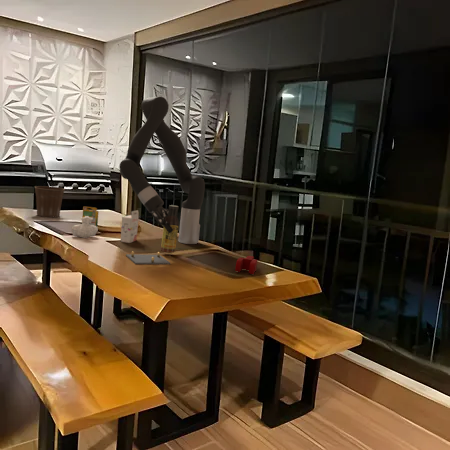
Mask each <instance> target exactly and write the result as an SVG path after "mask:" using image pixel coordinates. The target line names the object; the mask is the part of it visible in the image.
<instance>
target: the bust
mask: <svg viewBox="0 0 450 450" xmlns="http://www.w3.org/2000/svg"><path fill="white" fill-rule="evenodd" d="M79 220H81V224H76V225H75V224H74V225H73V226H72V227H71V233H72V236H74V237H80V238H83V239H84V238H85V239H89V238H91V237H95V236H96V234H97V232H98V230H99V227H98V226H97V227H96V226H94V225H90V224H89V223H91V220H93V218H90V217H89V216H85V217H83V218H82V216H80V217H79ZM82 220H83V222H82ZM82 223H83V224H82Z"/></svg>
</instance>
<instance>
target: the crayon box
mask: <svg viewBox="0 0 450 450" xmlns="http://www.w3.org/2000/svg"><path fill="white" fill-rule="evenodd" d="M85 216H89V217H90V218H93V220H91V223H89V224H90V225H94V226H96V227H97V228H98V222H99V211H98V208H97V207H93V206H83V207H82V216H81V217H82V218H83V217H85ZM82 222H83V220H81V225H82V224H83V223H82Z"/></svg>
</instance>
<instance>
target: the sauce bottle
mask: <svg viewBox="0 0 450 450" xmlns="http://www.w3.org/2000/svg"><path fill="white" fill-rule="evenodd" d="M168 210H169V214H168V217H167V219H166V220H167V222H168V223H169V225H170V226H171V227H172V229H173V231H172V232H171V233H168V231H167V230H166V229H165V227H164V226H163V231H162V236H161V238H162V239H161V246H160V247H161V248H160V249H161V251H160V252H163V253H169V254H171V253H175V251H176V247H177V241H178V235H179V232H178V231H179V229H178V227H179V219H178V211H179V206H178V205H173V204H171V205H170V204H169V206H168Z"/></svg>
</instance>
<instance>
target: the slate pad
mask: <svg viewBox="0 0 450 450" xmlns="http://www.w3.org/2000/svg"><path fill="white" fill-rule="evenodd" d="M131 254H132V253H130V254H127V253H126V254H125V256H126V258H127V259H129V260H130V261H131V262H132V263H133V264H135V265H171V262H170V261H169V260H167V259H166V258H165V257H164V256H162V255H160V257H157V254H142V253H141V254H140V253H139V254H136V253H134V257H131ZM152 257H154V263H152V262H151V260H152Z"/></svg>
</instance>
